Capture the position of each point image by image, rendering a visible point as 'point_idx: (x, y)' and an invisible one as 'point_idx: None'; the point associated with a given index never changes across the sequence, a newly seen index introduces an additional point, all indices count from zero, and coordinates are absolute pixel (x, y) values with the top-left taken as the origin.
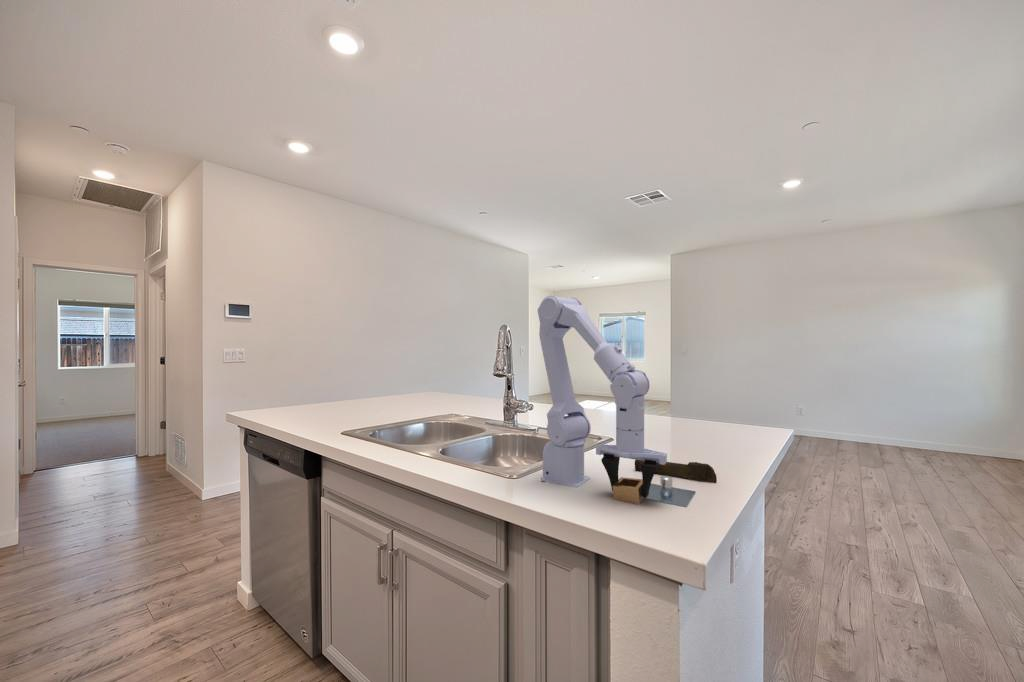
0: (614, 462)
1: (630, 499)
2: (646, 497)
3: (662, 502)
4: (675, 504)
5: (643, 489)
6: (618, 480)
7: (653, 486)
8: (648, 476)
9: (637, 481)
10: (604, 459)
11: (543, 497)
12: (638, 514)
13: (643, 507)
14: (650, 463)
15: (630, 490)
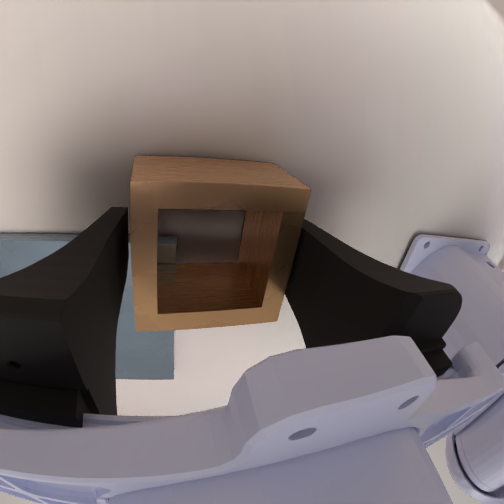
0: (362, 338)
1: (186, 162)
2: (129, 253)
3: (54, 238)
4: (6, 238)
5: (111, 220)
6: (284, 278)
7: (149, 363)
8: (41, 263)
9: (177, 308)
10: (448, 309)
11: (494, 116)
12: (122, 48)
13: (117, 152)
14: (25, 385)
15: (187, 175)
